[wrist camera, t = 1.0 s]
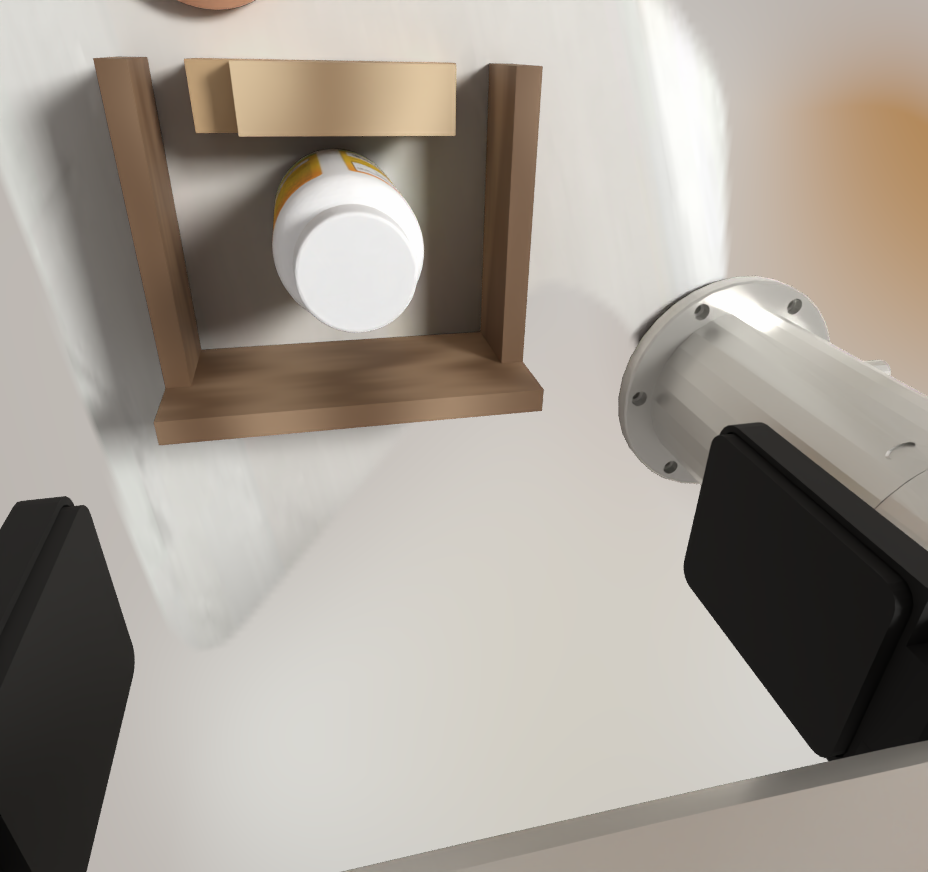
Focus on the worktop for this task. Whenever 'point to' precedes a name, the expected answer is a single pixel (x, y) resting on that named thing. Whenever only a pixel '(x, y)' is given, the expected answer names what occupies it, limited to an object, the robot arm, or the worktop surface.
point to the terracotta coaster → (216, 3)
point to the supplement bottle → (346, 241)
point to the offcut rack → (336, 362)
